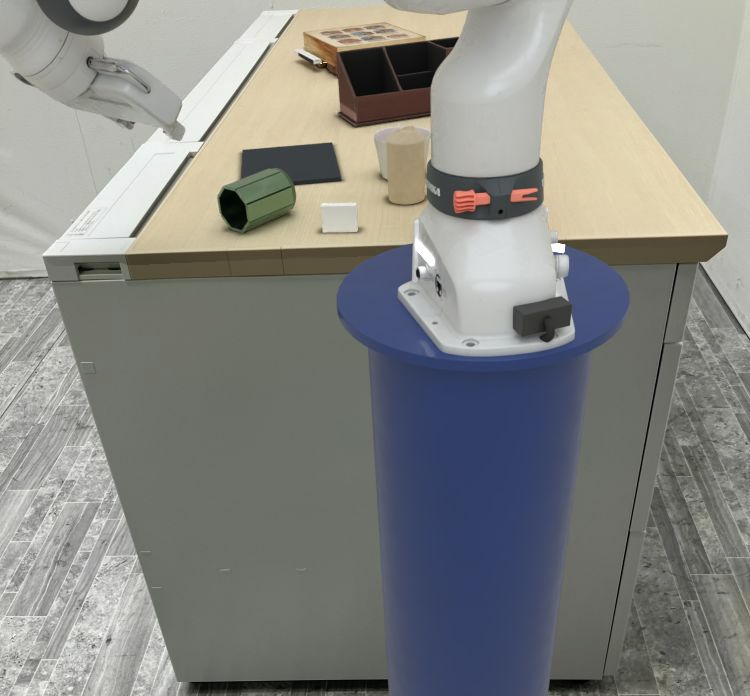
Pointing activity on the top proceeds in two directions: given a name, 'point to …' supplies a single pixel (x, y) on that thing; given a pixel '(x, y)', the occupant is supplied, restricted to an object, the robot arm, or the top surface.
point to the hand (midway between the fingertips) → (154, 129)
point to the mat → (294, 162)
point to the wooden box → (351, 41)
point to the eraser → (339, 217)
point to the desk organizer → (389, 80)
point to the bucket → (256, 199)
